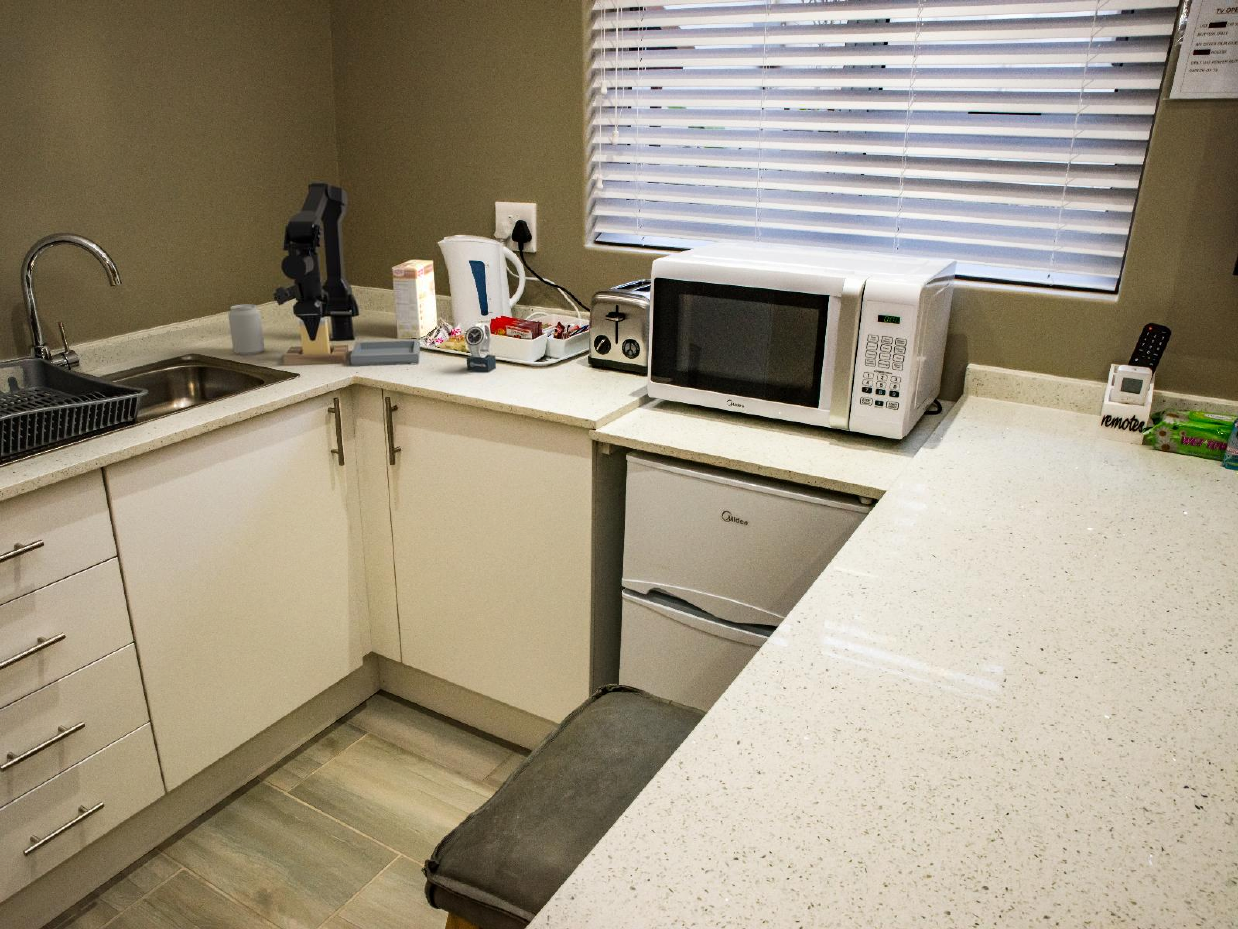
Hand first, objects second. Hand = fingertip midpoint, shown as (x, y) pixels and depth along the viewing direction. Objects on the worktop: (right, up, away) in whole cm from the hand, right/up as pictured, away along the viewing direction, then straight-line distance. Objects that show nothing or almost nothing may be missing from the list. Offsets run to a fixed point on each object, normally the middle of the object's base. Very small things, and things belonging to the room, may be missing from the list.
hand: (315, 336), depth 230 cm
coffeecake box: (+19, +5, +31) cm, 37 cm away
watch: (+42, -9, -7) cm, 44 cm away
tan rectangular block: (0, -5, +2) cm, 6 cm away
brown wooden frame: (0, -5, +2) cm, 6 cm away
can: (-19, -3, +8) cm, 21 cm away
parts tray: (+17, -5, +4) cm, 18 cm away
